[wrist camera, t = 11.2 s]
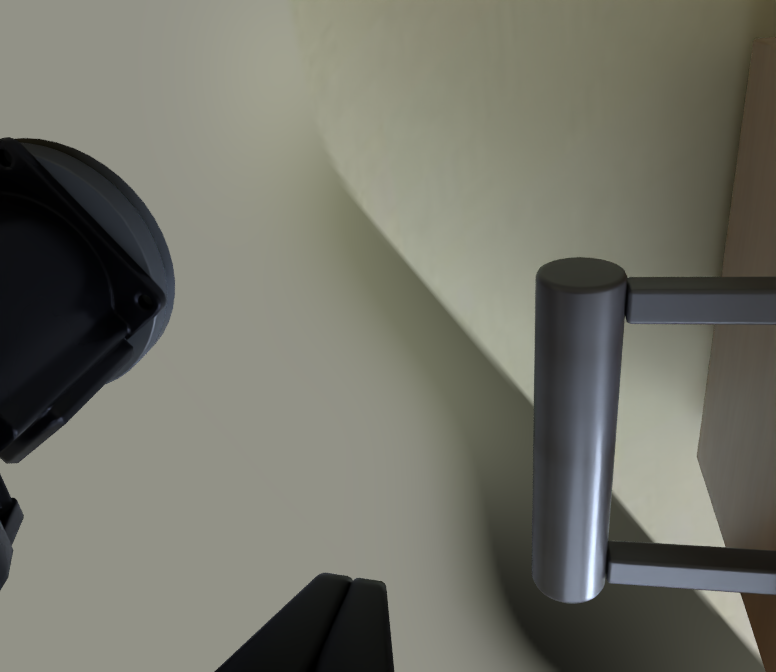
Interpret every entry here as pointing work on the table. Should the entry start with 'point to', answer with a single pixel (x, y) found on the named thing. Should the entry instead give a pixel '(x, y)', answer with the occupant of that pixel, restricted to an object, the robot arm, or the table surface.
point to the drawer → (720, 412)
